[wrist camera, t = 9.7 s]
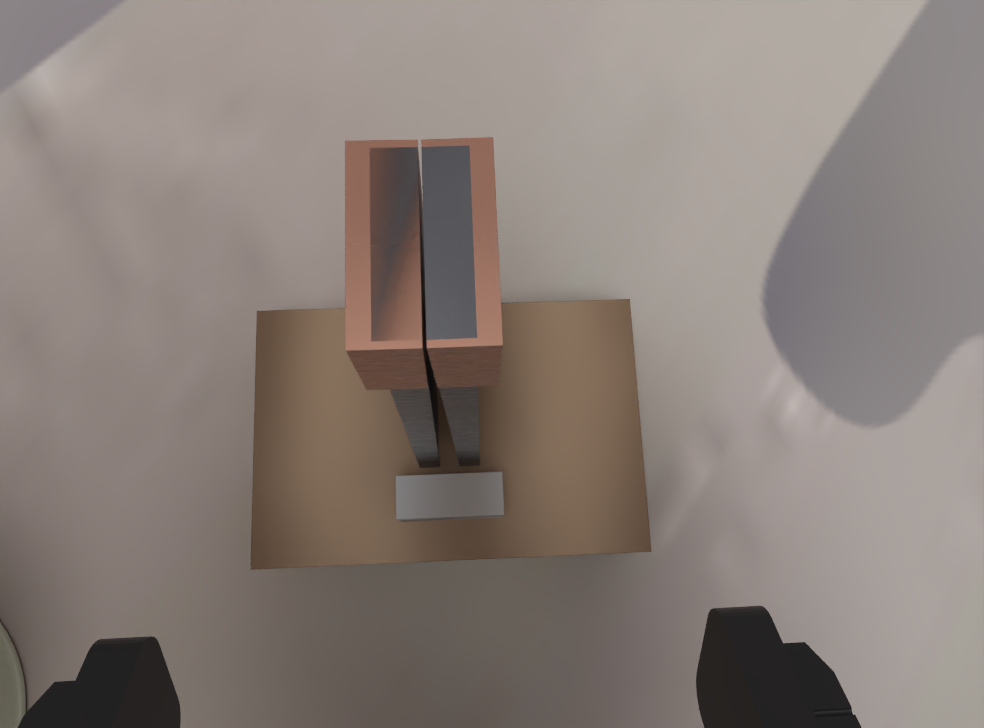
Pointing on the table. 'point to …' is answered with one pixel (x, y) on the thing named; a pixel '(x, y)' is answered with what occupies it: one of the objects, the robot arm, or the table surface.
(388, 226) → the bar
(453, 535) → the stand
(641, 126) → the table surface
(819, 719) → the robot arm
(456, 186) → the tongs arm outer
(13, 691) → the can
